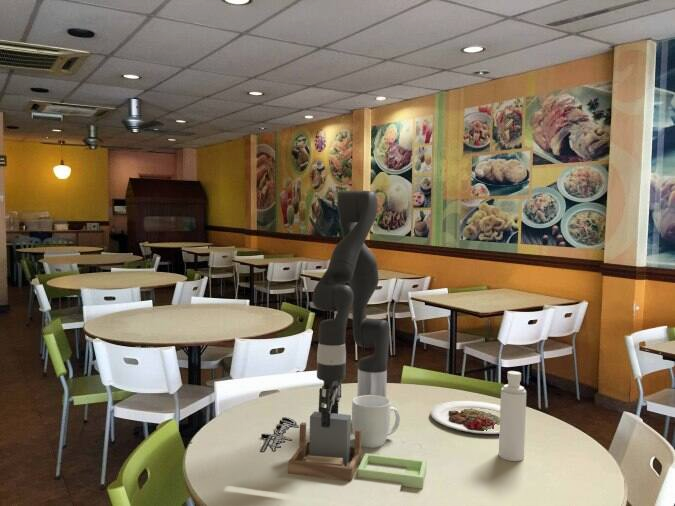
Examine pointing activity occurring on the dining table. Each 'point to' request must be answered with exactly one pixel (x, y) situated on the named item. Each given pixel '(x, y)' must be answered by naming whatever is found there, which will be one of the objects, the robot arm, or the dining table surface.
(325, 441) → the gray rectangular block
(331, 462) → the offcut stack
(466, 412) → the plated food
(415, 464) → the holder
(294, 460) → the tray
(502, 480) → the dining table surface
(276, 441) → the nameplate
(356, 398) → the mug
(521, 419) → the white bottle
